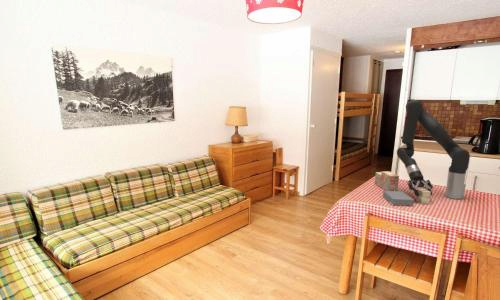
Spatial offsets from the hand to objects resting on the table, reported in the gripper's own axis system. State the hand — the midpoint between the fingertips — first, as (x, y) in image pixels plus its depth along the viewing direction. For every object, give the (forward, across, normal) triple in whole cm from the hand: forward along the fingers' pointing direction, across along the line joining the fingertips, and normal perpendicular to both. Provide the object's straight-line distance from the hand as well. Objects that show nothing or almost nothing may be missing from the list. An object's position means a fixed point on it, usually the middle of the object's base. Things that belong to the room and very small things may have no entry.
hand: (424, 195), depth 172 cm
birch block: (+3, 0, +4) cm, 5 cm away
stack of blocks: (-19, -7, +26) cm, 33 cm away
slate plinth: (0, -14, +7) cm, 16 cm away
